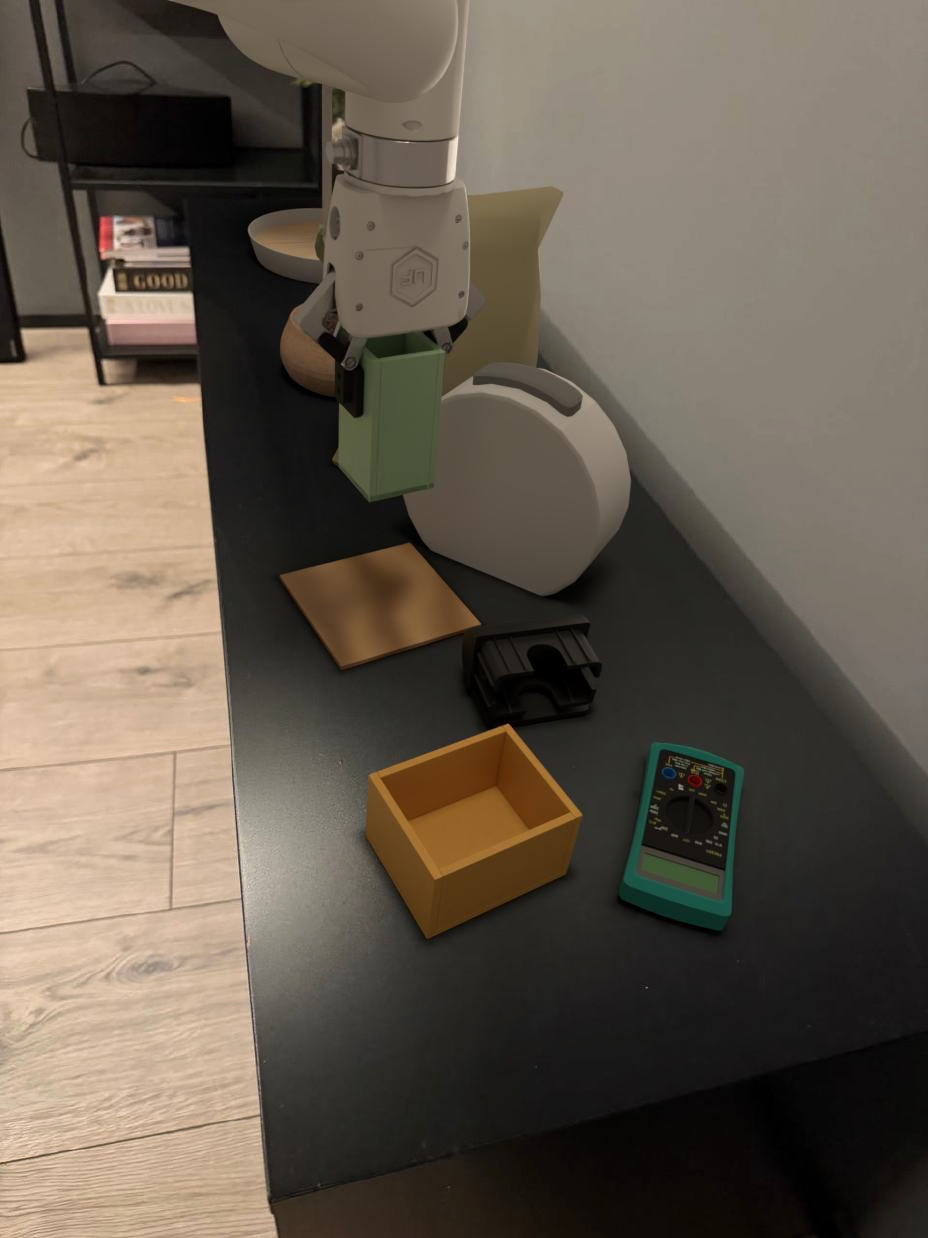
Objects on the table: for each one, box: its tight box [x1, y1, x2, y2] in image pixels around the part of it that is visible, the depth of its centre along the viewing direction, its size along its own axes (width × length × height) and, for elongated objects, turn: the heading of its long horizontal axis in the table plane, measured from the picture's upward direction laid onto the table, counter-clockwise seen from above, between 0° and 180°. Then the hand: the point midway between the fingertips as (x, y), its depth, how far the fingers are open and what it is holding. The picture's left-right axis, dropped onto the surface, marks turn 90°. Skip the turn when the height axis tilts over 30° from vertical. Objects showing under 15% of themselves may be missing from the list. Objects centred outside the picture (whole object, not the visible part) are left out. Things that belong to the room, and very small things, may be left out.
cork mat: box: [279, 542, 482, 671], centre depth 86 cm, size 14×14×1 cm
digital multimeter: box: [618, 741, 745, 931], centre depth 67 cm, size 7×15×3 cm, turn 163°
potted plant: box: [279, 224, 339, 398], centre depth 114 cm, size 22×18×30 cm
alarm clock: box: [402, 362, 632, 597], centre depth 88 cm, size 21×8×20 cm, turn 61°
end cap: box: [461, 614, 603, 730], centre depth 77 cm, size 10×7×7 cm
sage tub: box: [338, 331, 445, 503], centre depth 74 cm, size 6×6×12 cm
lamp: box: [247, 84, 334, 285], centre depth 143 cm, size 29×29×43 cm
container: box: [331, 185, 564, 468], centre depth 99 cm, size 24×17×30 cm
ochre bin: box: [365, 724, 583, 940], centre depth 63 cm, size 11×9×7 cm
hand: (389, 401), depth 73 cm, fingers closed on sage tub, 6 cm apart
